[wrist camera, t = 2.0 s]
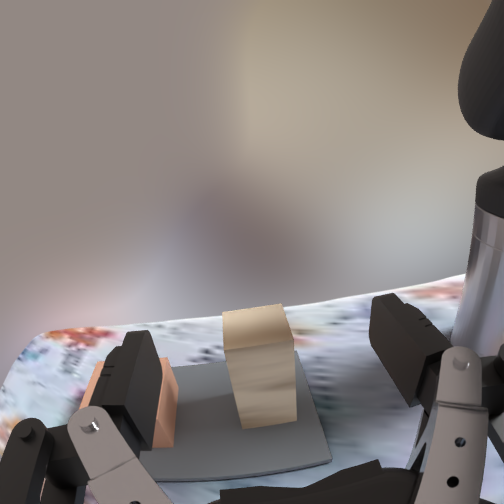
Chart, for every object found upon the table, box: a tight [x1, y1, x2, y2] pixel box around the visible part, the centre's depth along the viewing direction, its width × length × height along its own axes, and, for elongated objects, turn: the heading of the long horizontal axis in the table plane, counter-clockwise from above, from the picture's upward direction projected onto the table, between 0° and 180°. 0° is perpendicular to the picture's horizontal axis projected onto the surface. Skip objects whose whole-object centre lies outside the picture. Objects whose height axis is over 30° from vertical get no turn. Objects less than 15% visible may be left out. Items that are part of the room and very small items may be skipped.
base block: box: [79, 357, 179, 448], centre depth 26 cm, size 8×8×4 cm
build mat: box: [139, 351, 332, 481], centre depth 28 cm, size 15×23×1 cm, turn 96°
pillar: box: [222, 304, 297, 429], centre depth 26 cm, size 5×5×10 cm
